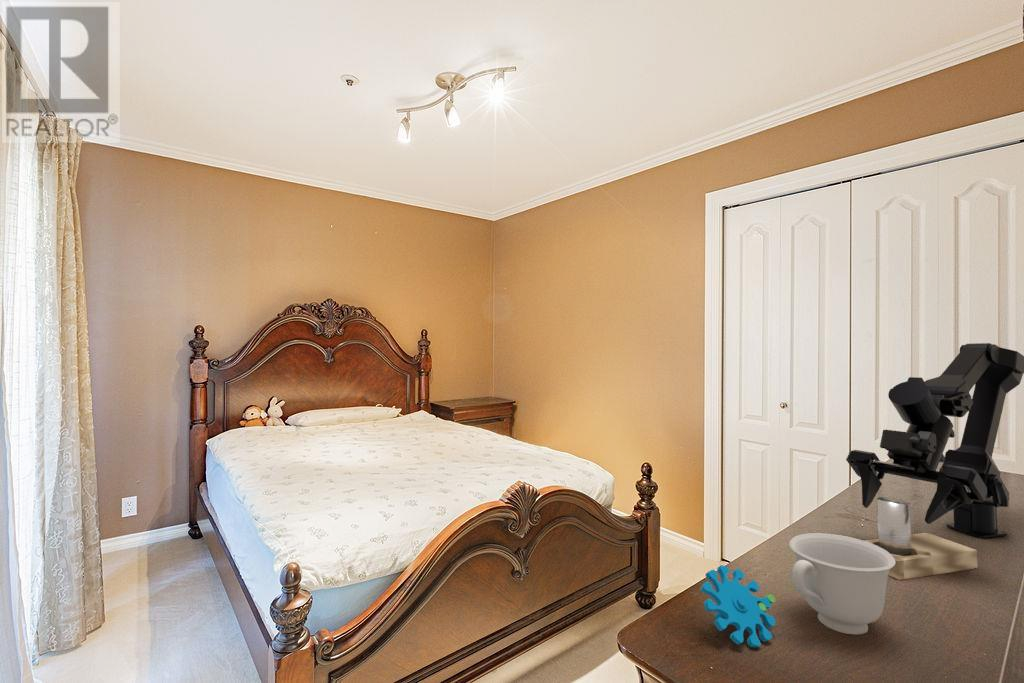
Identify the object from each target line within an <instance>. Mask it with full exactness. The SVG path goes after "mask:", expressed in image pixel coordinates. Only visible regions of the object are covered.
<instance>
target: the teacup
mask: <svg viewBox="0 0 1024 683" xmlns="http://www.w3.org/2000/svg"><path fill="white" fill-rule="evenodd" d="M788 545H789V548H790V549H791V550H792V551H793V552H794V554H795V557H796V562H795V563H794V564H793V566H792V571H791V578H792V580H791V581H792V583H793V586H794V588H795V590H797V592H798V593H800V594H801V595H803V596H804V598H805V601H806V602H807V604H808V605H809V606H810V607H811V608H812V609H813V610H814V611H816V612H817V619H818V621H819V622H820V623H821V624H823V625H824V626H825V627H827V628H828V629H830V630H833V631H836V632H839V633H841V634H846V635H856V636H857V635H864V634H866V633H867V632H868V631H869V624H872V623H875V622H876V621H877V620H878V619H880V617H881V616H882V614H883V611H884V607H885V604H886V603H885V602H886V591H887V585H888V584H887V582H888V577H889V575H888V572H889V570H890V568H892V567H893V566H894V565H895V559H894V557H893V556H892V555H891V554H890V553H889V552H887V551H886V550H884V549H883V548H881V547H879V546H877V545H874V544H872V543H869V542H866V541H864V540H863V539H859V538H856V537H851V536H846V535H840V534H834V533H833V534H832V533H825V532H824V533H823V532H820V533H819V532H813V533H812V532H811V533H803V534H802V533H801V534H798V535H796V536H793V538H792V537H791V539H790V540H789V543H788Z"/></svg>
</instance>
